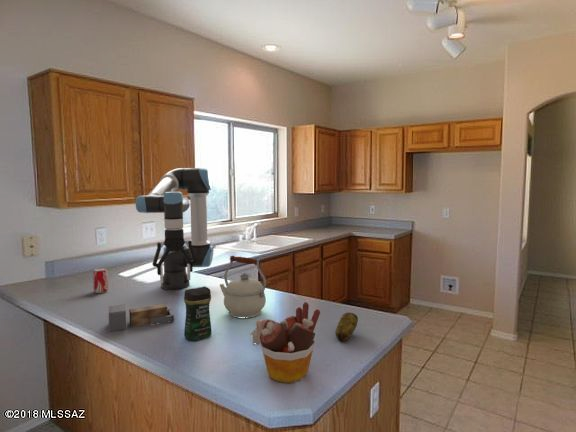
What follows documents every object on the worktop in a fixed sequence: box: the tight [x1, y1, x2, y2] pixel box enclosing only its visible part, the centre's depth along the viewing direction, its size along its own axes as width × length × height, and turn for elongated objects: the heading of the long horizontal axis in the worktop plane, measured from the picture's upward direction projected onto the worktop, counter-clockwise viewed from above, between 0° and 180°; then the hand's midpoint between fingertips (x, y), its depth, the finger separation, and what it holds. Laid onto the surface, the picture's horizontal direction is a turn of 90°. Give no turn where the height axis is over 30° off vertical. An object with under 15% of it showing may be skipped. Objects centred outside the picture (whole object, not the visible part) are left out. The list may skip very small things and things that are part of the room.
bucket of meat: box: [255, 301, 321, 384], centre depth 112 cm, size 20×16×20 cm
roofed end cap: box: [108, 303, 127, 332], centre depth 150 cm, size 6×9×7 cm
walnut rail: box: [128, 303, 168, 328], centre depth 154 cm, size 14×4×6 cm, turn 121°
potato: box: [335, 312, 359, 342], centre depth 140 cm, size 8×13×8 cm, turn 135°
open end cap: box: [150, 308, 175, 325], centre depth 157 cm, size 9×9×2 cm
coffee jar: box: [183, 285, 213, 342], centre depth 139 cm, size 10×8×19 cm
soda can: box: [92, 267, 109, 294], centre depth 196 cm, size 7×7×12 cm
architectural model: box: [249, 326, 261, 345], centre depth 136 cm, size 3×7×7 cm, turn 143°
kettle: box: [219, 255, 267, 319], centre depth 165 cm, size 25×18×25 cm
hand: (175, 280), depth 158 cm, fingers open, 10 cm apart
